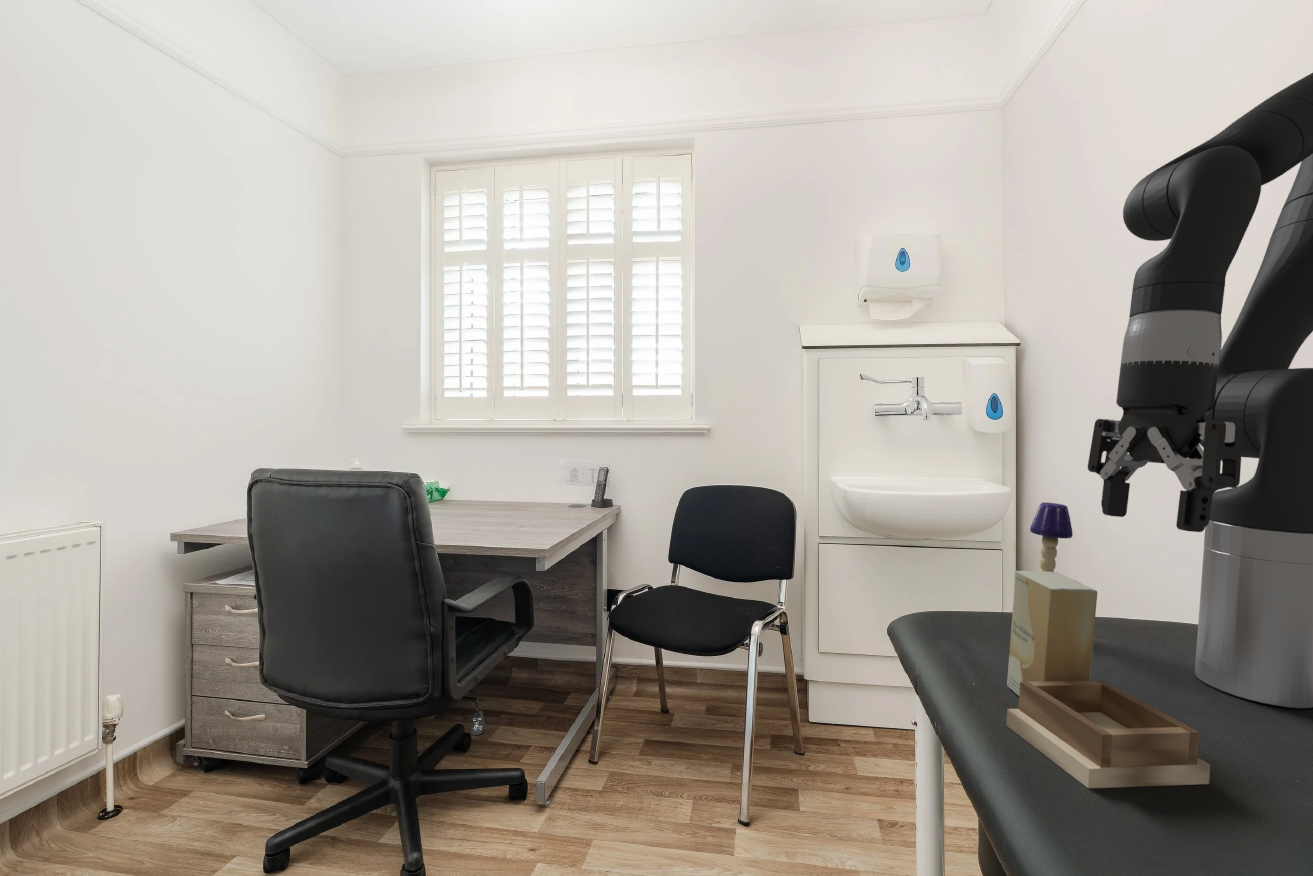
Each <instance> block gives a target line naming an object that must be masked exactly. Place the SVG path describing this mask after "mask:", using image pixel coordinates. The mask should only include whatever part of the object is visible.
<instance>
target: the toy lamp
mask: <svg viewBox="0 0 1313 876" xmlns="http://www.w3.org/2000/svg"><path fill="white" fill-rule="evenodd" d="M1070 517H1071V516H1070V512H1069V508H1068V506H1067V505H1065V504H1062V503H1054V502H1041V503H1040V504H1039V506H1038V508H1037V511H1036V513H1035V516H1034V518H1033V520H1032V522H1031V525H1030V528H1029V530H1030V533H1032V534H1034V535H1037V536H1041V543H1042V544H1041V545H1042V547H1041V548H1040V555H1041V558H1040V559H1039V566H1040V569H1039V570H1038V571H1041V572H1055V571H1054V570H1055V569H1056V566H1057V565H1056V564H1057V561H1056V558H1057V555H1058V550H1057V546H1058V544H1059V539H1072V538H1073V528H1072V522H1071V518H1070Z"/></svg>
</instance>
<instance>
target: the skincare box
mask: <svg viewBox="0 0 1313 876" xmlns="http://www.w3.org/2000/svg"><path fill="white" fill-rule="evenodd" d="M1013 589H1014V592H1013V602H1012V603H1013V604H1012V615H1011V616H1012V617H1011V630H1010V642H1009V643H1010V644H1009V654H1008V666H1007V667H1008V668H1007V669H1008V670H1007V681H1006V685H1007V687H1008V688H1009V689H1010V690H1011V691H1013V692H1014V693H1015V694H1016V695H1017V696H1018V697H1019V692H1020V682H1044V681H1091V674H1092V672H1091V671H1092V660H1093V649H1094V647H1093V646H1094V637H1095V623H1096V612H1097V601H1098V590H1096V589H1094V588H1092V587H1089V586H1088V585H1085V584H1083V583H1081V582H1079V581H1078V580H1076V579H1073V578H1070V577H1067V576H1065V575H1064V574H1061V573H1059V572H1057V571H1054V572H1041V571H1039V570H1038V571H1037V570H1035V571H1034V570H1015V575H1014V588H1013Z"/></svg>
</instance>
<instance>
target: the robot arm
mask: <svg viewBox="0 0 1313 876" xmlns="http://www.w3.org/2000/svg"><path fill="white" fill-rule="evenodd" d="M1297 165H1300V166H1299V168H1298V170H1297V173H1296V175H1295V179H1294V181H1293V184H1292V186H1291V188H1290V191H1289V193H1288V195H1287V197H1286V200H1285V202H1284V204H1283V207H1281V211H1280V213H1279V215H1278V218H1277V221H1276V223H1275V226H1274V228H1273V231H1272V233H1271V236H1270V238H1269V241H1268V244H1267V247H1266V251H1265V253H1264V256H1263V258H1262V261H1261V264H1260V267H1259V269H1258V271H1257V274H1256V276H1255V278H1254V281H1253V283H1252V285H1251V288H1250V289H1249V292H1248V294H1247V295H1246V296H1247V297H1246V299H1245V301H1244V304H1243V306H1242V307H1241V310H1240V312H1239V314H1238V317H1237V319H1236V321H1235V323H1234V325H1233V327H1232V329H1231V330H1230V333H1229V335H1227V338H1226V339H1225V341H1224V343H1223V346H1222V341H1223V340H1222V339H1223V333H1222V313H1223V312H1222V311H1223V304H1224V297H1225V287H1226V277H1227V273H1228V272H1229V271H1228V270H1229V269H1230V266H1231V264H1232V262H1233V260H1234V258H1235V256H1236V254H1237V252H1238V251H1239V249H1240V248H1239V247H1240V245H1241V243H1242V241H1243V240H1244V237H1245V234H1246V232H1247V230H1248V228H1249V226H1250V223H1251V222H1252V220H1253V216H1254V214H1255V211H1256V209H1257V206H1258V203H1259V201H1260V196H1261V191H1262V186H1264V185H1267V184H1269V183H1270V182H1273V181H1274V180H1276V179H1277V178H1279V177H1281V176H1282V175H1284V174H1285V173H1287V172H1288V171H1290V170H1291V169H1293V168H1294V167H1296V166H1297ZM1122 217H1123V218H1122V219H1123V222H1124V224H1125V227H1126V228H1127V230H1128V231H1129V232H1130V233H1131V234H1132V235H1133V236H1135V237H1137V238H1139V239H1140V240H1141V239H1142V240H1145V241H1151V242H1153V241H1154V242H1161V241H1167V240H1170V241H1169V243H1168V244H1167V246H1166V247H1165V248H1164V249H1163V250H1162V251H1160V252H1159V253H1157V254H1156V255H1155V256H1153V257H1151V258H1149V259H1147V261H1144V262H1143V263H1142V264H1141V265H1140V266H1139V267H1138V268H1137V270H1136V272H1135V275H1134V278H1133V284H1132V293H1131V300H1130V307H1129V316H1128V317H1129V318H1128V323H1127V327H1126V330H1125V333H1124V338H1123V344H1122V350H1121V359H1120V367H1119V374H1118V375H1119V376H1118V382H1117V383H1118V385H1117V394H1116V401H1115V402H1116V405H1117V406H1118V407H1119V408H1121V409H1122V411H1123V413H1122V416H1121V418H1120V420H1115V419H1110V418H1109V419H1107V418H1097V419H1096V420H1095V422H1094V426H1093V432H1092V436H1091V444H1090V445H1091V446H1090V449H1089V457H1088V463H1087V470H1088V471H1089V472H1090V473H1095V474H1098V475H1099V477H1100V478H1101V479H1102V480H1103V484H1102V494H1101V503H1100V504H1101V510H1102V511H1101V512H1102V513H1103V515H1105V516H1110V517H1120V518H1124V517H1125V516H1126V515H1127V513H1128V512H1127V511H1128V506H1129V505H1128V504H1129V503H1128V502H1129V496H1130V487H1131V486H1130V485H1131V483H1130V482H1127V481H1128V480H1130V478H1132V476H1133V475H1134V474H1135V472H1136V471H1138V469H1140V468H1143V467H1145V466H1146V465H1147V464H1148V463H1155V464H1165V465H1166V468H1167V469H1169V470H1170V471H1172V472H1173V473H1174V474H1175V475H1176V477H1177V479H1178V481H1179V482H1180V485H1181V486H1182V488H1183V489H1184V490H1182V489H1181V490H1179V491H1180V492H1179V499H1178V508H1177V515H1176V517H1177V518H1176V525H1175V526H1176V528H1177V529H1178V530H1180V531H1185V532H1191V533H1193V532H1194V533H1195V532H1196V533H1202V532H1203V531H1204V539H1203V540H1204V541H1203V555H1202V557H1203V558H1202V568H1201V581H1200V597H1199V610H1198V624H1197V625H1198V626H1197V637H1196V647H1195V648H1196V650H1195V651H1196V652H1195V663H1194V675H1195V676H1196V678H1198V679H1199V681H1202V682H1203V683H1204V684H1207V685H1209V686H1211V687H1213V688H1215V689H1218V690H1219V691H1222V692H1224V693H1227V694H1231V695H1233V696H1236V697H1239V698H1243V699H1247V700H1249V701H1255V702H1258V703H1262V704H1267V705H1272V706H1278V707H1284V708H1292V709H1312V708H1313V367H1300V368H1299V367H1298V368H1297V367H1296V368H1290V367H1291V364H1292V363H1293V361H1294V358H1295V357H1296V354H1297V353H1298V351H1299V349H1300V348H1301V346H1303V344H1304V342H1305V341H1306V340H1307V339H1308V337H1309V336H1310V335H1311V334H1312V333H1313V72H1311V73H1309V74H1307V75H1306V76H1304V77H1302V78H1301V79H1299V80H1297V81H1295V82H1294V83H1291V84H1289V85H1288V86H1286V87H1284V88H1283V89H1281V90H1280V91H1278V92H1276V93H1274V94H1273V95H1271V96H1270V97H1268V98H1266V99H1265V100H1263V101H1262V102H1260V103H1259V104H1258V105H1257V106H1254V107H1253V108H1252V109H1250V110H1249V111H1247V112H1246V113H1244V114H1243V115H1242V116H1240V117H1238V118H1237V119H1236V120H1235V121H1233V122H1232V123H1230V124H1229V125H1228V126H1227V127H1225V128H1224V129H1223V130H1221V131H1220V132H1219V133H1217V134H1216V135H1214V136H1213V137H1211V138H1210V139H1208V140H1206V141H1205V142H1203V143H1201V144H1199V145H1198V146H1195V147H1194V148H1191V149H1190V150H1188V151H1186V152H1185V153H1183V154H1181V155H1179V156H1177V157H1176V158H1174V159H1172V160H1170V161H1169V162H1167V163H1165V164H1163V165H1162V166H1159V168H1158V167H1157V168H1156V169H1154V170H1153V171H1152V172H1150V173H1149V174H1147V175H1146V176H1145V177H1143V178H1141V179H1140V180H1139V181H1138V182H1137V184H1136V185H1135V186H1134V187H1133V188H1132V189H1131V190H1130V192H1129V193H1128V195H1127V197H1126V199H1125V202H1124V205H1123V210H1122ZM1104 452H1105V459H1104V461H1102V460H1103V459H1102V458H1103V453H1104ZM1242 458H1247V459H1248V458H1249V459H1258V462H1257V466H1256V468H1255V469H1256V470H1255V473H1254V475H1253V476H1252V478H1250V479H1249V480H1248V481H1247V482H1244V483H1242V484H1241V485H1240V482H1241V470H1242V469H1241V466H1242ZM1221 463H1222V465H1221Z"/></svg>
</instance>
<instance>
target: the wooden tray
mask: <svg viewBox="0 0 1313 876" xmlns="http://www.w3.org/2000/svg"><path fill="white" fill-rule="evenodd" d="M1006 727H1008V728H1009V729H1010V730H1011V731H1013V732H1014V733H1015V734H1016V735H1018V736H1019V737H1021V738H1022V739H1023V740H1024V741H1026V742H1027V743H1029V744H1030V745H1031V746H1032V747H1033V748H1035V749H1036V750H1038V752H1040V753H1041V754H1043V755H1044V756H1045V757H1047V758H1048V759H1049V760H1050V761H1052V762H1053V763H1054V764H1056V765H1057V766H1058V767H1059V768H1061V769H1062V770H1063V771H1065V773H1067V774H1069V775H1070V776H1071V777H1073V778H1074V779H1075V780H1077V781H1078V782H1079V783H1080V784H1081V785H1083V786H1084V787H1086V788H1087V789H1105V788H1106V789H1107V788H1108V789H1109V788H1136V787H1137V788H1139V787H1160V786H1161V787H1163V786H1164V787H1166V786H1187V785H1189V786H1191V785H1193V786H1194V785H1209V784H1210V772H1211V764H1210V763H1208V762H1206V761H1205V760H1202V759H1201V758H1200V757H1198V756H1199V745H1200V743H1199V741H1200V731H1197V730H1196V729H1194V728H1192V727H1191V726H1188V725H1187V724H1186V723H1185V724H1184V723H1183V722H1181V721H1179V720H1177V719H1175V718H1173V717H1171V716H1169V715H1168V714H1166V713H1164V712H1163V711H1161V710H1159V709H1158V708H1157V709H1156V708H1155V707H1153V706H1151V705H1149V704H1147V703H1145V702H1144V701H1142V700H1140V699H1138V698H1136V697H1134V696H1133V695H1131V694H1128V693H1127V692H1125V691H1123V690H1121V689H1120V688H1117V687H1116V686H1115V685H1114V686H1113V685H1112V684H1109V683H1108V682H1106V681H1104V680H1090V681H1044V682H1020V692H1019V696H1018V708H1007V710H1006Z"/></svg>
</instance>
